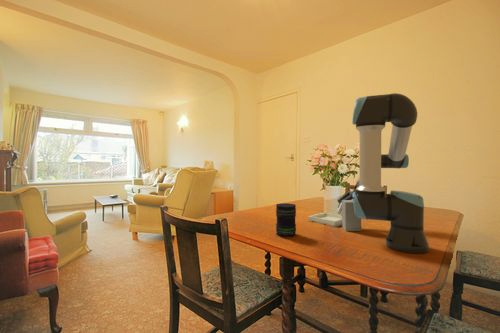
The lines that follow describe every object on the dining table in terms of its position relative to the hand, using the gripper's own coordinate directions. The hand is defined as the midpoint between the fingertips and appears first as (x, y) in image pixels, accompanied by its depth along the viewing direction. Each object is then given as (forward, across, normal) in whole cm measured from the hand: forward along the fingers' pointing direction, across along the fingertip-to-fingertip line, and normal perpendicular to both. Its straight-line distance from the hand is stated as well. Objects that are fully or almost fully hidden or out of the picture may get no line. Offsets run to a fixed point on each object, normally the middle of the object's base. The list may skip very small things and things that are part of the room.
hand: (350, 215), depth 127 cm
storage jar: (+28, +17, +17) cm, 37 cm away
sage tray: (-1, +18, -12) cm, 21 cm away
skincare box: (+5, 0, -6) cm, 8 cm away
